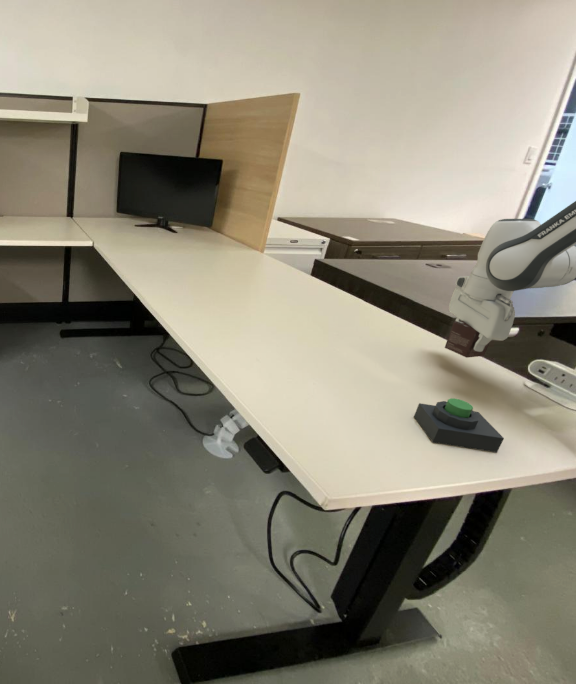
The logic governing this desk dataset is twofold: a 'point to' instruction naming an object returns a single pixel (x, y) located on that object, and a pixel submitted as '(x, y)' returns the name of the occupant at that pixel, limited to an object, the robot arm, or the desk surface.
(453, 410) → the green button cap
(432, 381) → the desk surface
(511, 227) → the robot arm
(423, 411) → the button base
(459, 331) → the box
